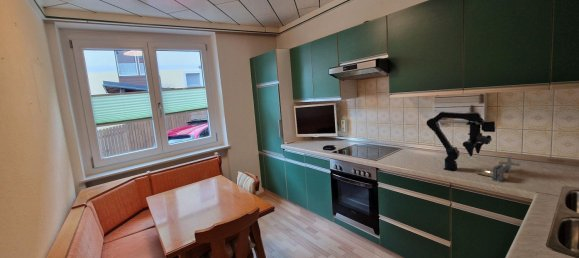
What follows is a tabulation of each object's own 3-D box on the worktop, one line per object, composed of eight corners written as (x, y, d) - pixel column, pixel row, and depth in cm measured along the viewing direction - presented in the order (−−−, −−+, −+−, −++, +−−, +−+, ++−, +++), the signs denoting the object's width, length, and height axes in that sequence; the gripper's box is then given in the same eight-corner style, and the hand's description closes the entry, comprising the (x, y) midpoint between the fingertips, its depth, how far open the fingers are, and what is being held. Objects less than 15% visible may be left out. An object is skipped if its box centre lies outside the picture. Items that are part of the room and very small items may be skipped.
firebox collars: (492, 180, 153) (492, 167, 151) (500, 176, 158) (500, 163, 157) (501, 182, 149) (501, 169, 148) (509, 177, 154) (509, 165, 153)
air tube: (475, 173, 163) (476, 167, 164) (478, 174, 165) (479, 168, 166) (506, 179, 149) (507, 172, 150) (508, 180, 152) (510, 174, 152)
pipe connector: (519, 169, 165) (520, 155, 163) (518, 174, 158) (519, 158, 157) (500, 167, 172) (500, 153, 170) (497, 171, 165) (498, 157, 164)
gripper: (482, 135, 153) (482, 160, 155) (496, 130, 162) (495, 153, 164) (462, 133, 162) (462, 156, 164) (476, 129, 171) (476, 151, 174)
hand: (474, 154), depth 166 cm, fingers open, 9 cm apart
